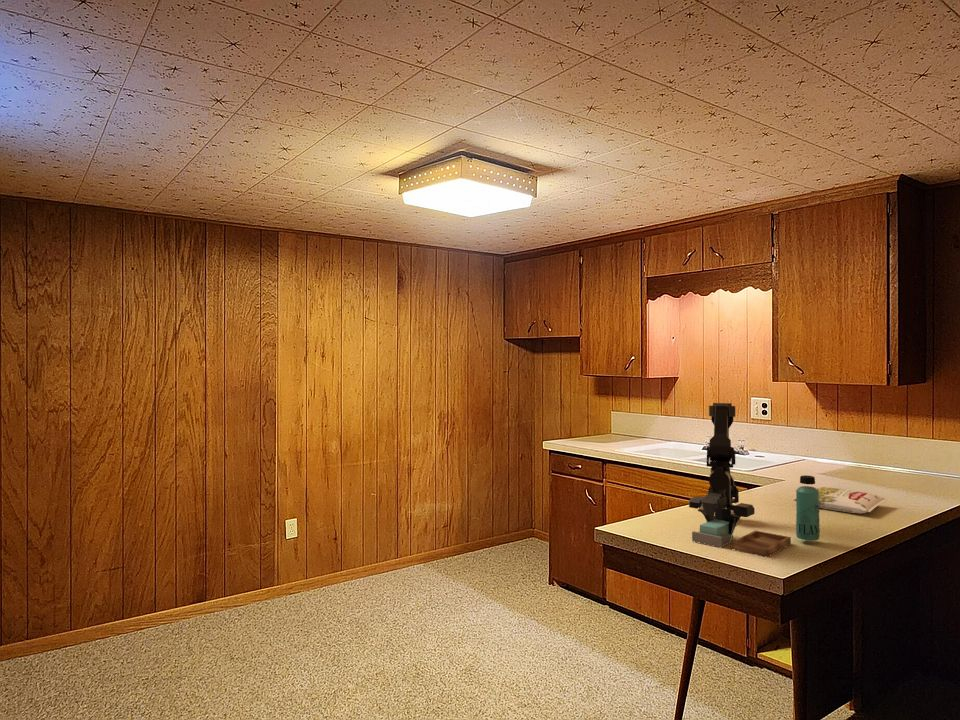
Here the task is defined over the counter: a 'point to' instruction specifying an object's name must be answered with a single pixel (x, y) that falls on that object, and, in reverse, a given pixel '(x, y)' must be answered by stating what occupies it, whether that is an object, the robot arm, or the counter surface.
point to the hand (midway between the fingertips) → (721, 533)
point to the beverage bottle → (807, 510)
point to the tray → (761, 543)
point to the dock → (711, 539)
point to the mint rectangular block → (715, 528)
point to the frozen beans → (847, 500)
